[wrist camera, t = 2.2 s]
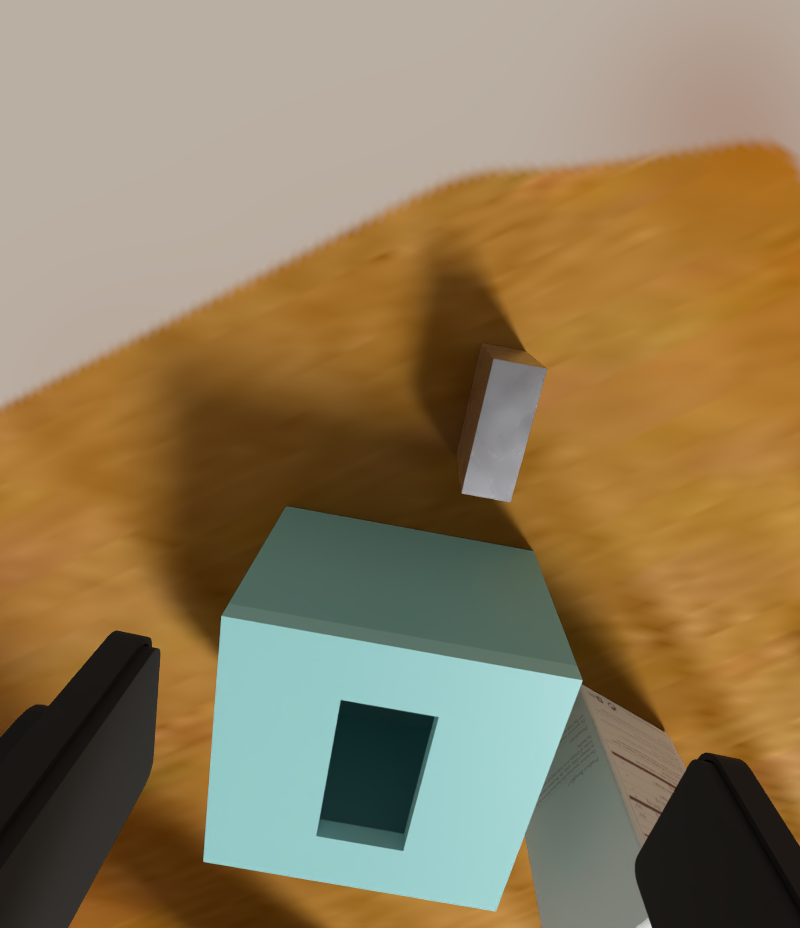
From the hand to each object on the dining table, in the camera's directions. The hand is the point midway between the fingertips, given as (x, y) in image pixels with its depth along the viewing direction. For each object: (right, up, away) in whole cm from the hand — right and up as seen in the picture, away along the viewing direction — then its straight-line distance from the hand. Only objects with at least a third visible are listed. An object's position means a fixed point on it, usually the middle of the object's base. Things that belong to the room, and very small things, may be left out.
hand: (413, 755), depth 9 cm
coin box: (-1, -5, +23) cm, 23 cm away
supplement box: (+12, -13, +25) cm, 31 cm away
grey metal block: (+4, +8, +18) cm, 20 cm away
